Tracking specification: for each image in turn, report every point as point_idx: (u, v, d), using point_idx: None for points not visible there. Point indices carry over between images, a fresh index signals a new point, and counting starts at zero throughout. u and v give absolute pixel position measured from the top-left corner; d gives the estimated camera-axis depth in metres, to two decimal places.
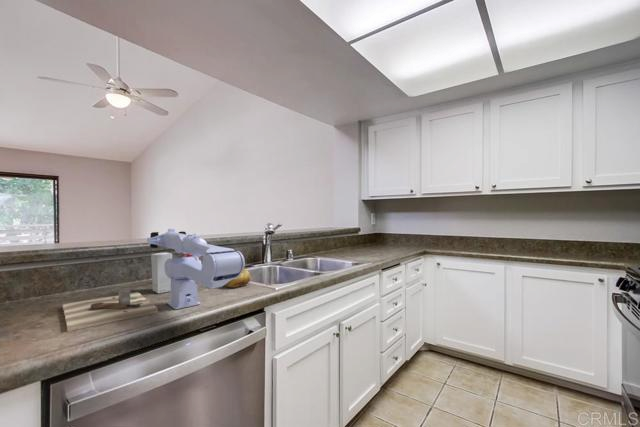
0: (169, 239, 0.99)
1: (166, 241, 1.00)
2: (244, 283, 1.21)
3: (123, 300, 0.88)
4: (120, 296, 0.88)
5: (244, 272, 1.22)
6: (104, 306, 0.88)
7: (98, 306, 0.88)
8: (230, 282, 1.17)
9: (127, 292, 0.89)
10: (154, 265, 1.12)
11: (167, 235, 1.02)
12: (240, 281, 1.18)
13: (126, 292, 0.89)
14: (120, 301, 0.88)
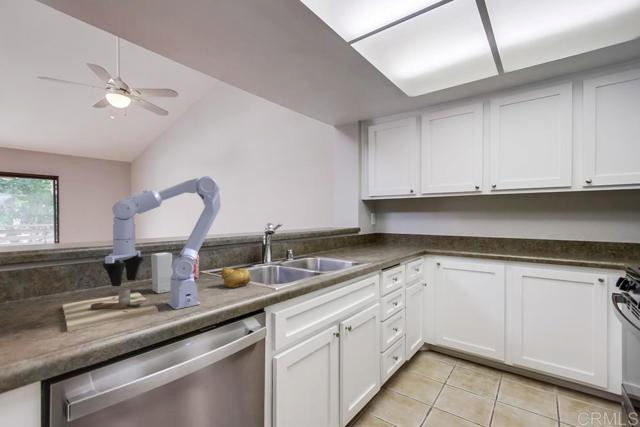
0: (120, 234, 0.87)
1: (118, 242, 0.87)
2: (244, 283, 1.21)
3: (123, 300, 0.88)
4: (120, 296, 0.88)
5: (244, 272, 1.22)
6: (104, 306, 0.88)
7: (98, 306, 0.88)
8: (230, 282, 1.17)
9: (127, 292, 0.89)
10: (154, 265, 1.12)
11: (113, 247, 0.87)
12: (240, 281, 1.18)
13: (126, 292, 0.89)
14: (120, 301, 0.88)
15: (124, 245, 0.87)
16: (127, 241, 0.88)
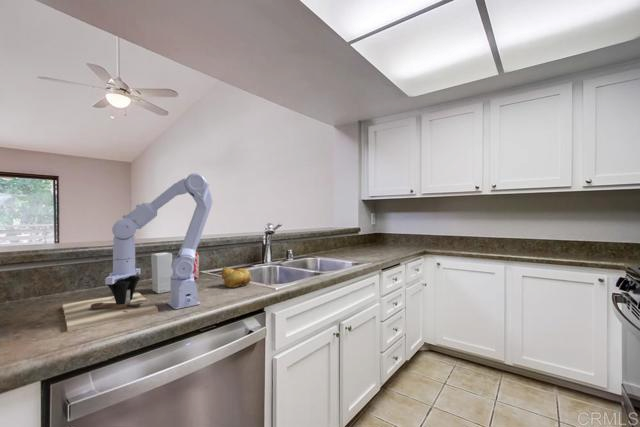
0: (120, 254, 0.87)
1: (118, 262, 0.87)
2: (244, 283, 1.21)
3: None
4: None
5: (244, 272, 1.23)
6: (104, 306, 0.88)
7: (98, 306, 0.88)
8: (230, 282, 1.18)
9: (127, 292, 0.89)
10: (154, 265, 1.12)
11: (113, 266, 0.87)
12: (240, 281, 1.18)
13: None
14: None
15: (124, 265, 0.87)
16: (127, 261, 0.88)
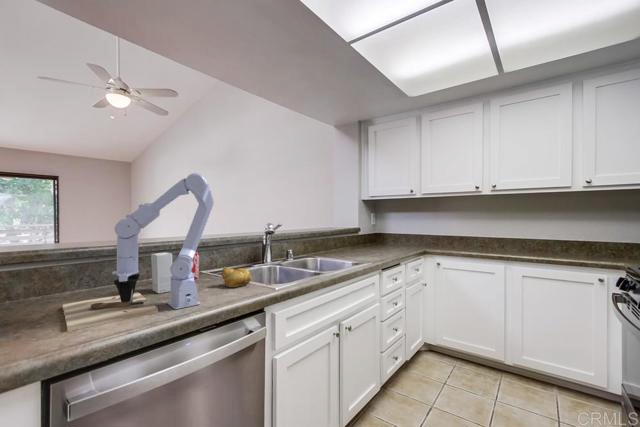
0: (122, 253, 0.89)
1: (126, 260, 0.90)
2: (244, 283, 1.21)
3: None
4: None
5: (244, 272, 1.23)
6: (106, 305, 0.89)
7: (99, 306, 0.88)
8: (230, 282, 1.18)
9: None
10: (154, 265, 1.12)
11: (119, 265, 0.89)
12: (240, 281, 1.19)
13: None
14: None
15: (131, 263, 0.91)
16: (134, 259, 0.91)
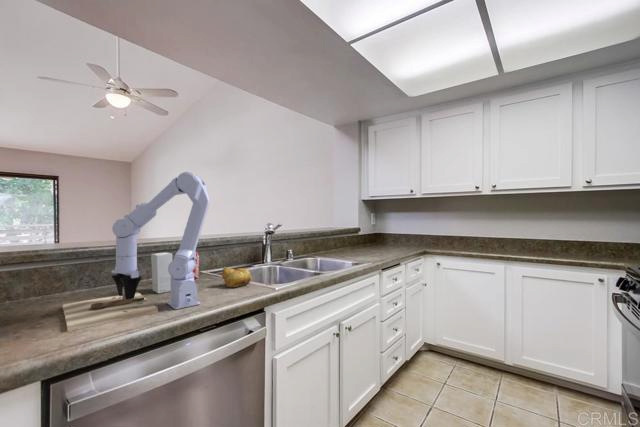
0: (119, 252, 0.92)
1: (130, 258, 0.93)
2: (244, 283, 1.21)
3: None
4: None
5: (245, 272, 1.23)
6: (108, 304, 0.90)
7: (102, 305, 0.89)
8: (230, 282, 1.18)
9: None
10: (154, 265, 1.12)
11: (122, 263, 0.92)
12: (240, 281, 1.19)
13: None
14: None
15: (134, 261, 0.95)
16: (135, 257, 0.96)
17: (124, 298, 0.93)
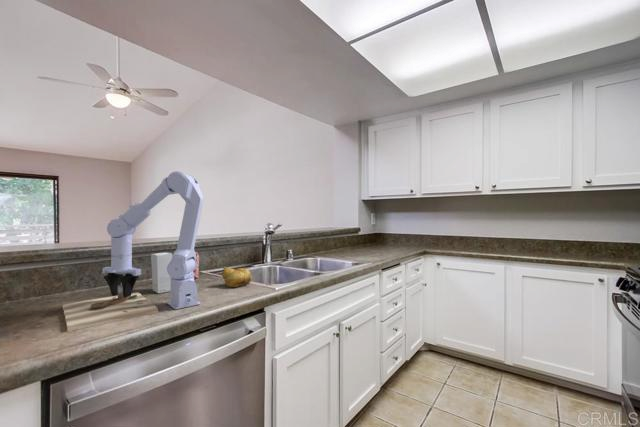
0: (113, 251, 0.94)
1: (128, 257, 0.96)
2: (245, 283, 1.21)
3: None
4: None
5: (245, 272, 1.23)
6: (108, 303, 0.91)
7: (103, 304, 0.89)
8: (230, 282, 1.18)
9: None
10: (154, 265, 1.12)
11: (121, 263, 0.94)
12: (240, 281, 1.19)
13: None
14: None
15: (131, 260, 0.97)
16: (131, 256, 0.98)
17: (121, 296, 0.95)
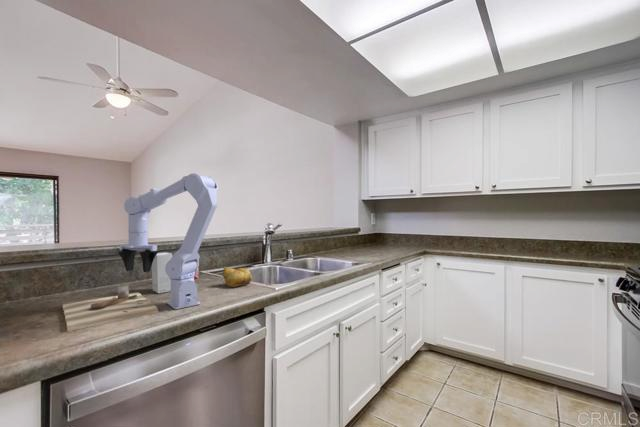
0: (129, 228, 0.98)
1: (144, 234, 1.00)
2: (245, 283, 1.21)
3: (127, 292, 0.96)
4: (125, 289, 0.96)
5: (245, 272, 1.23)
6: (108, 303, 0.91)
7: (103, 304, 0.89)
8: (231, 281, 1.18)
9: (128, 285, 0.97)
10: (154, 265, 1.12)
11: (138, 239, 0.98)
12: (240, 280, 1.19)
13: (128, 285, 0.97)
14: (125, 294, 0.96)
15: (147, 236, 1.02)
16: (147, 233, 1.02)
17: (121, 296, 0.95)
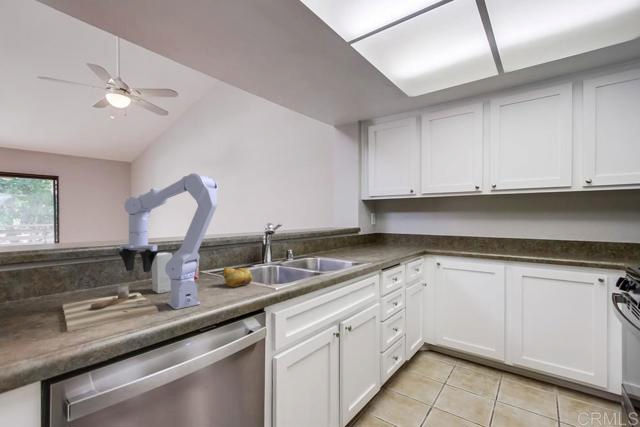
0: (130, 228, 0.98)
1: (145, 234, 1.00)
2: (245, 282, 1.22)
3: (127, 292, 0.96)
4: (125, 289, 0.96)
5: (245, 272, 1.23)
6: (108, 303, 0.91)
7: (103, 304, 0.89)
8: (231, 281, 1.18)
9: (128, 285, 0.97)
10: (154, 265, 1.12)
11: (138, 239, 0.98)
12: (241, 280, 1.19)
13: (128, 285, 0.97)
14: (125, 294, 0.96)
15: (147, 236, 1.02)
16: (147, 233, 1.02)
17: (121, 296, 0.95)
